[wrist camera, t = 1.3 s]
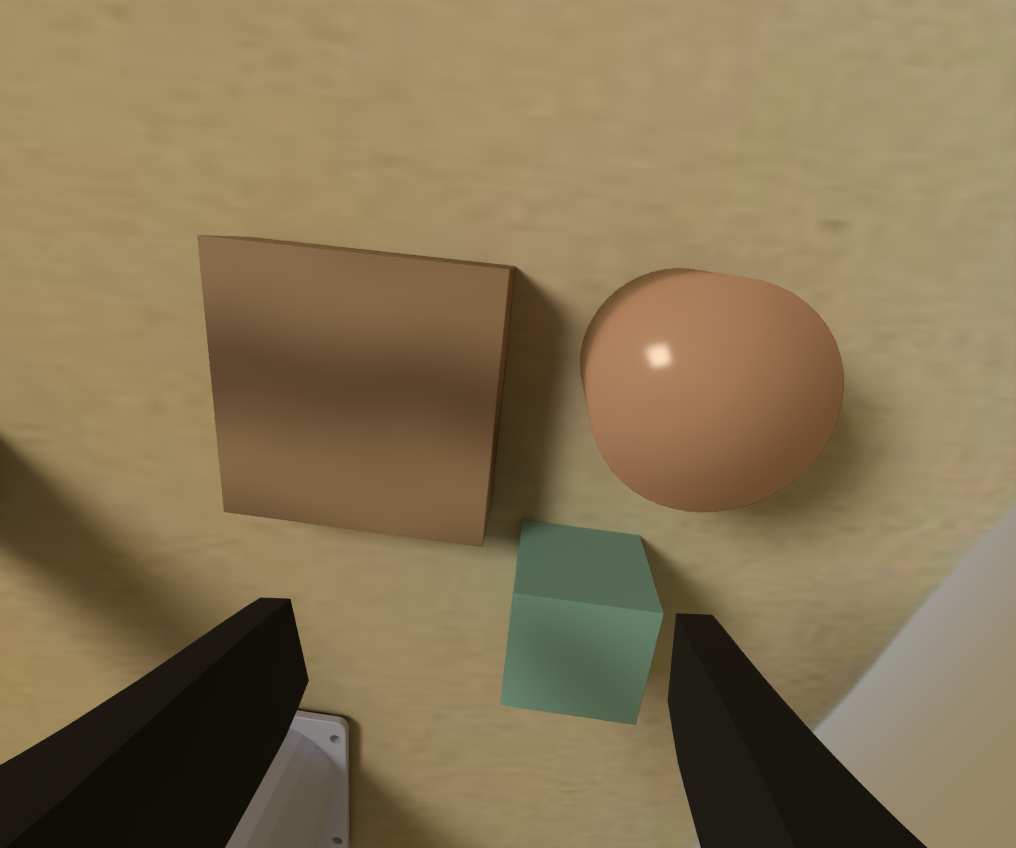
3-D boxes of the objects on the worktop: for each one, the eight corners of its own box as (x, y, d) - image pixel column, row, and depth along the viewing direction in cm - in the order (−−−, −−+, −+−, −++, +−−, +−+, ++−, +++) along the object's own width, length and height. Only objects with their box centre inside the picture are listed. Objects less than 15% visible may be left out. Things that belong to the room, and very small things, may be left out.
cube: (618, 628, 21) (635, 724, 17) (510, 613, 21) (500, 705, 17) (639, 534, 20) (663, 613, 15) (522, 518, 20) (514, 593, 15)
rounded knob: (737, 453, 18) (801, 526, 13) (568, 432, 18) (573, 496, 14) (784, 279, 16) (880, 291, 11) (594, 258, 16) (611, 262, 12)
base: (490, 510, 20) (482, 546, 17) (262, 480, 20) (224, 511, 18) (515, 266, 17) (509, 269, 14) (246, 236, 17) (197, 235, 15)
